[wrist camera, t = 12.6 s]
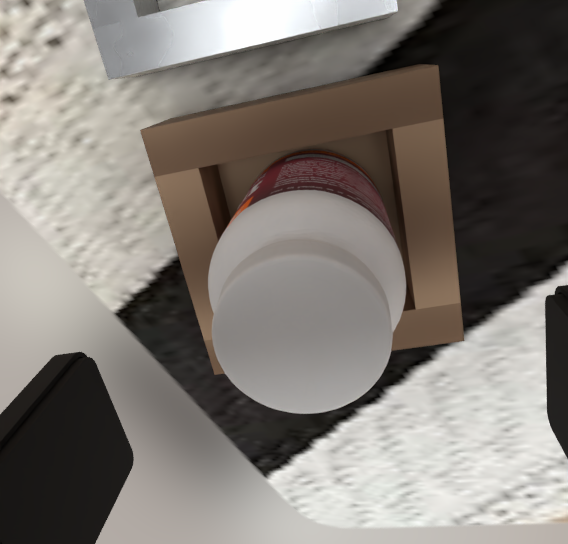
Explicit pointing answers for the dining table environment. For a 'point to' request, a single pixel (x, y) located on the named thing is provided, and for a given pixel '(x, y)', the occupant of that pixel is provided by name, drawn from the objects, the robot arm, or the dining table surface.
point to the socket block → (212, 28)
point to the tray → (333, 137)
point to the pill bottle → (307, 285)
